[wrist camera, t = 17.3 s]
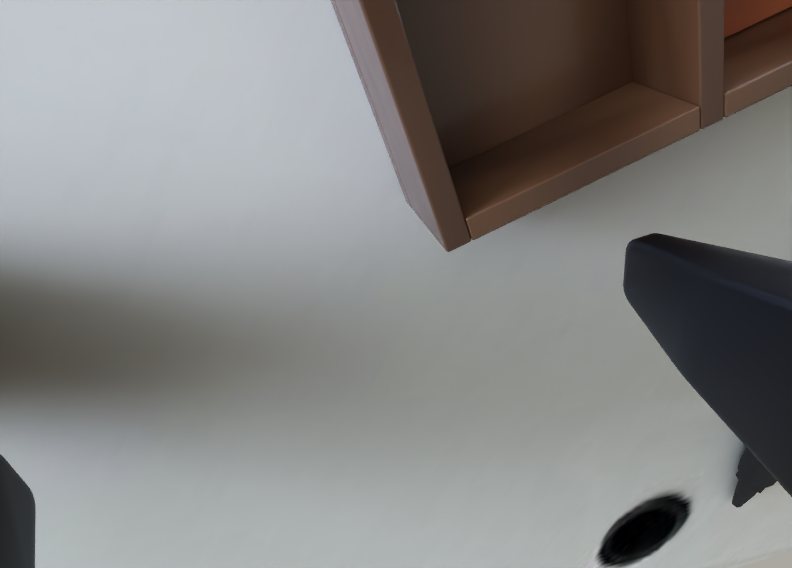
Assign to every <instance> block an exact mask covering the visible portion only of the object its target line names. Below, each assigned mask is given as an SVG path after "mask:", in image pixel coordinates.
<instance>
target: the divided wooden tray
mask: <svg viewBox="0 0 792 568" xmlns="http://www.w3.org/2000/svg"><path fill="white" fill-rule="evenodd" d="M331 2H332V4H333V7H334V10H335V12H336V15H337V18H338V20H339V23H340V26H341V28H342V31H343V34H344V36H345V39H346V41H347V44H348V47H349V49H350V52H351V55H352V57H353V60H354V63H355V65H356V68H357V71H358V73H359V76H360V79H361V81H362V84H363V87H364V89H365V92H366V95H367V97H368V100H369V102H370V105H371V108H372V110H373V113H374V116H375V118H376V121H377V124H378V126H379V129H380V132H381V134H382V137H383V140H384V142H385V145H386V148H387V150H388V153H389V156H390V158H391V161H392V163H393V166H394V169H395V171H396V174H397V177H398V179H399V182H400V185H401V187H402V190H403V193H404V195H405V198H406V201H407V203H408V204H409V205H410V207H411V208H412V209H413V210H414V211H415V213H416V214H417V215H418V216H419V218H420V219H421V220H422V221H423V223H424V224H425V225H426V226H427V228H428V229H429V230H430V231H431V233H432V234H433V235H434V236H435V238H436V239H437V240H438V241H439V243H440V244H441V245H442V246H443V247H444V249H445V250H446V251H447V252H450V251H452V250H454V249H456V248H458V247H460V246H462V245H464V244H466V243H468V242H470V241H471V239H472V240H475V239H477V238H479V237H481V236H483V235H485V234H487V233H489V232H491V231H493V230H496V229H498V228H500V227H502V226H504V225H506V224H508V223H510V222H512V221H514V220H516V219H518V218H520V217H522V216H524V215H526V214H528V213H530V212H533V211H535V210H537V209H539V208H541V207H543V206H545V205H547V204H549V203H551V202H553V201H555V200H557V199H559V198H561V197H563V196H565V195H568V194H570V193H572V192H574V191H576V190H578V189H580V188H582V187H584V186H586V185H588V184H590V183H592V182H594V181H596V180H598V179H600V178H603V177H605V176H607V175H609V174H611V173H613V172H615V171H617V170H619V169H621V168H623V167H625V166H627V165H629V164H631V163H633V162H635V161H638V160H640V159H642V158H644V157H646V156H648V155H650V154H652V153H654V152H656V151H658V150H660V149H662V148H664V147H666V146H668V145H670V144H672V143H675V142H677V141H679V140H681V139H683V138H685V137H687V136H689V135H691V134H693V133H695V132H697V131H699V130H700V129H703V128H705V127H707V126H709V125H712V124H714V123H716V122H718V121H720V120H722V119H723V117H728V116H730V115H732V114H734V113H736V112H738V111H740V110H742V109H744V108H746V107H748V106H750V105H752V104H754V103H757V102H759V101H761V100H763V99H765V98H767V97H769V96H771V95H773V94H775V93H777V92H779V91H781V90H783V89H785V88H787V87H789V86H792V0H331Z"/></svg>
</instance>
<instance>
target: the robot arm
mask: <svg viewBox="0 0 792 568" xmlns="http://www.w3.org/2000/svg"><path fill="white" fill-rule="evenodd" d="M623 287H624V292H625V296H626V298H627V300H628V301H629V303H630V304H631V306H632V307H633V308H634V310H635V311H636V312H637V314H638V315H639V317H640V318H641V319H642V321H643V322H644V323H645V325H646V326H647V328H648V329H649V330H650V332H651V333H652V335H653V336H654V337H655V339H656V340H657V341H658V343H659V344H660V346H661V347H662V348H663V350H664V351H665V352H666V354H667V355H668V357H669V358H670V359H671V361H672V362H673V363H674V365H675V366H676V367H677V369H678V370H679V371H680V372H681V374H682V375H683V376H684V377H685V379H686V380H687V381H688V382H689V383H690V384H691V386H692V387H693V388H694V389H695V390H696V391H697V392H698V394H699V395H700V396H701V397H702V398H703V399H704V400H705V401H706V402H707V404H708V405H709V406H710V407H711V408H712V409H713V410H714V411H715V412H716V413H717V415H718V416H719V417H720V418H721V419H722V420H723V421H724V422H725V423H726V425H727V426H728V427H729V428H730V429H731V430H732V431H733V432H734V433H735V435H736V436H737V437H738V438H739V439H740V440H741V441H742V442H743V443H744V445H745V446H746V447H747V448H748V449H749V450H750V451H751V452H752V453H753V454H754V456H755V457H756V458H757V459H758V460H759V461H760V462H761V463H762V464H763V466H764V467H765V468H766V469H767V470H768V471H769V472H770V473H771V474H772V476H773V477H774V478H775V479H776V480H777V481H778V482H779V483H780V484H781V486H782V487H783V488H784V489H785V490H786V491H787V492H788V493H789V494H790V495H791V497H792V262H791V261H787V260H782V259H777V258H772V257H768V256H763V255H758V254H753V253H749V252H744V251H739V250H734V249H730V248H725V247H720V246H715V245H711V244H706V243H701V242H696V241H692V240H687V239H682V238H677V237H673V236H668V235H663V234H658V233H653V234H649V235H646V236H643V237H640V238H637V239H634V240H632V241H631V242H629V244H628V245H627V247H626V255H625V268H624V281H623ZM0 568H35V500H34V497H33V494H32V492H31V490H30V488H29V487H28V486H27V484H26V483H25V482H24V481H23V480H22V478H21V477H20V476H19V475H18V474H17V473H16V471H15V470H14V469H13V468H12V467H11V465H10V464H9V463H8V462H7V461H6V459H5V458H4V457H3V456H2V455H1V454H0Z"/></svg>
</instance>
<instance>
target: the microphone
mask: <svg viewBox="0 0 792 568" xmlns="http://www.w3.org/2000/svg"><path fill="white" fill-rule="evenodd" d="M736 476H737V478H738V479H739V480H738V483H737V486H736V489H735V493H734V496H733V499H732V504H733V505H734V506H736V507H741V506H742V505H743V504H745V503H746V502H747V501H748V500H749V499H751V498H752V497H753V496H754V495H755V494H756V493H757V492H759V493H761V492H762V491H763V490H764V489H765V488H766V487H769V486H772V485H774V484H775V482H776V481H777V480H776V479H775V478H774V477H773V476H772V474H771V473H770V472H769V471H768V470H767V469H766V468H765V467H764V466H763V464H762V463H761V462H760V461H759V460H758V459H757V458H756V457H755V456H754V454H753V453H752V452H751V451H750V450H749V449H748V448H746V450H745V452H744V454H743V456H742V458H741V460H740V463H739V466H738V472H737V474H736Z"/></svg>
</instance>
